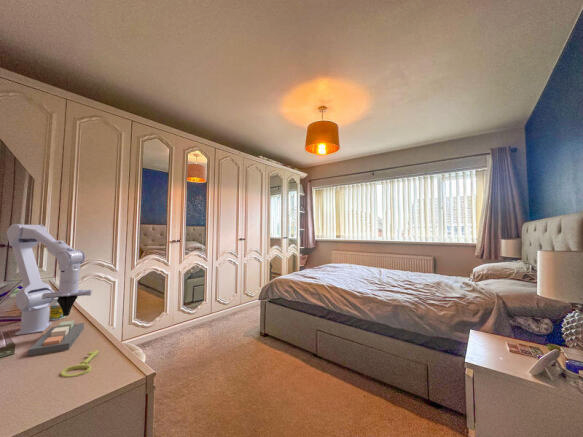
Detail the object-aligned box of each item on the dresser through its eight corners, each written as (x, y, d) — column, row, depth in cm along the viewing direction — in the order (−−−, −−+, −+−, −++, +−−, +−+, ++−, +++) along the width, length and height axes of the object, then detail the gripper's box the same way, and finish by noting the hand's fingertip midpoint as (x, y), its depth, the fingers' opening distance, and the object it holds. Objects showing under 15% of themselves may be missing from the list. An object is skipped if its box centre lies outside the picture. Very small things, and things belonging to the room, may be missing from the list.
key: (98, 355, 80) (99, 348, 80) (89, 375, 69) (90, 367, 69) (70, 360, 76) (71, 353, 77) (56, 382, 66) (56, 374, 66)
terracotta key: (47, 344, 83) (48, 337, 83) (62, 342, 85) (63, 335, 85) (42, 349, 80) (43, 342, 80) (58, 347, 82) (59, 340, 82)
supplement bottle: (66, 315, 112) (68, 295, 112) (63, 319, 107) (65, 298, 108) (51, 317, 109) (52, 296, 109) (47, 321, 104) (49, 299, 105)
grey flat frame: (51, 332, 94) (51, 326, 94) (83, 328, 99) (84, 322, 99) (27, 356, 77) (28, 349, 77) (68, 349, 82) (69, 343, 82)
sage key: (60, 328, 94) (61, 322, 95) (73, 326, 96) (74, 320, 97) (56, 331, 91) (57, 325, 91) (70, 330, 93) (71, 323, 93)
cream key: (54, 334, 89) (55, 328, 89) (68, 332, 91) (69, 326, 91) (50, 338, 85) (51, 332, 86) (65, 336, 87) (65, 330, 88)
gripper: (39, 284, 87) (36, 321, 87) (90, 281, 95) (87, 315, 94) (47, 280, 94) (44, 315, 93) (94, 278, 101) (91, 310, 100)
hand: (66, 315), depth 94 cm, fingers closed
